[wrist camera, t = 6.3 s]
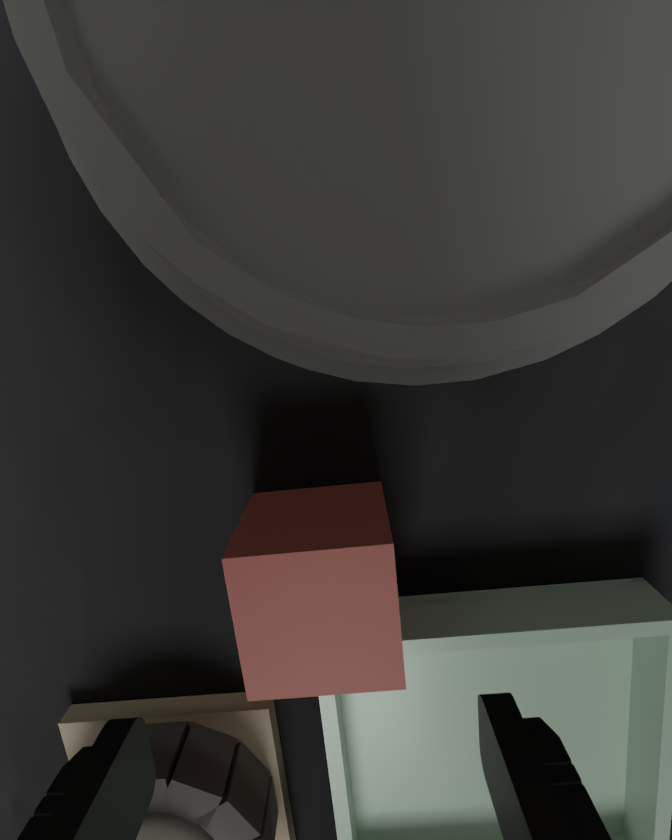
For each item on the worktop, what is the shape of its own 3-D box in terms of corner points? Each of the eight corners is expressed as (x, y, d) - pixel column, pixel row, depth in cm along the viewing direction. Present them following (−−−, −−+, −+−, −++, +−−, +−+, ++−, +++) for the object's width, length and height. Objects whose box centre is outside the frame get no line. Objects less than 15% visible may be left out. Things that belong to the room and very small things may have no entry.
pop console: (71, 704, 21) (18, 781, 18) (272, 690, 21) (257, 766, 17) (114, 856, 23) (74, 952, 20) (297, 846, 23) (288, 941, 19)
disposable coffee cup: (575, 142, 15) (1294, -360, 4) (407, 385, 17) (534, 551, 6) (329, -46, 14) (261, -1571, 3) (179, 236, 16) (-234, 68, 5)
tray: (316, 603, 20) (312, 647, 17) (642, 577, 19) (687, 619, 17) (347, 844, 23) (347, 912, 20) (628, 828, 22) (664, 895, 20)
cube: (253, 492, 19) (221, 558, 14) (380, 480, 18) (393, 543, 14) (271, 603, 20) (247, 701, 15) (390, 593, 20) (406, 689, 15)
